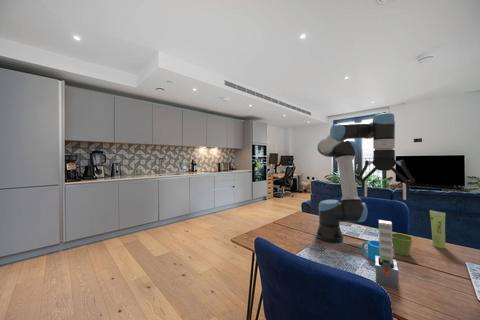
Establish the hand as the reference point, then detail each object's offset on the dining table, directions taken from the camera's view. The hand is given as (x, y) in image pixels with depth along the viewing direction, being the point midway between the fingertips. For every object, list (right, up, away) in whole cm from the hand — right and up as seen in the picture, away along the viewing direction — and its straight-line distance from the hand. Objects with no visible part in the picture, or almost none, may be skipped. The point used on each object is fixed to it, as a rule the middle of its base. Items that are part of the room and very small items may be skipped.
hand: (384, 197), depth 84 cm
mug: (+3, -32, +10) cm, 34 cm away
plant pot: (+20, -32, +15) cm, 41 cm away
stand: (-6, -32, -9) cm, 34 cm away
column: (-6, -24, -9) cm, 26 cm away
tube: (+47, -32, +22) cm, 60 cm away
